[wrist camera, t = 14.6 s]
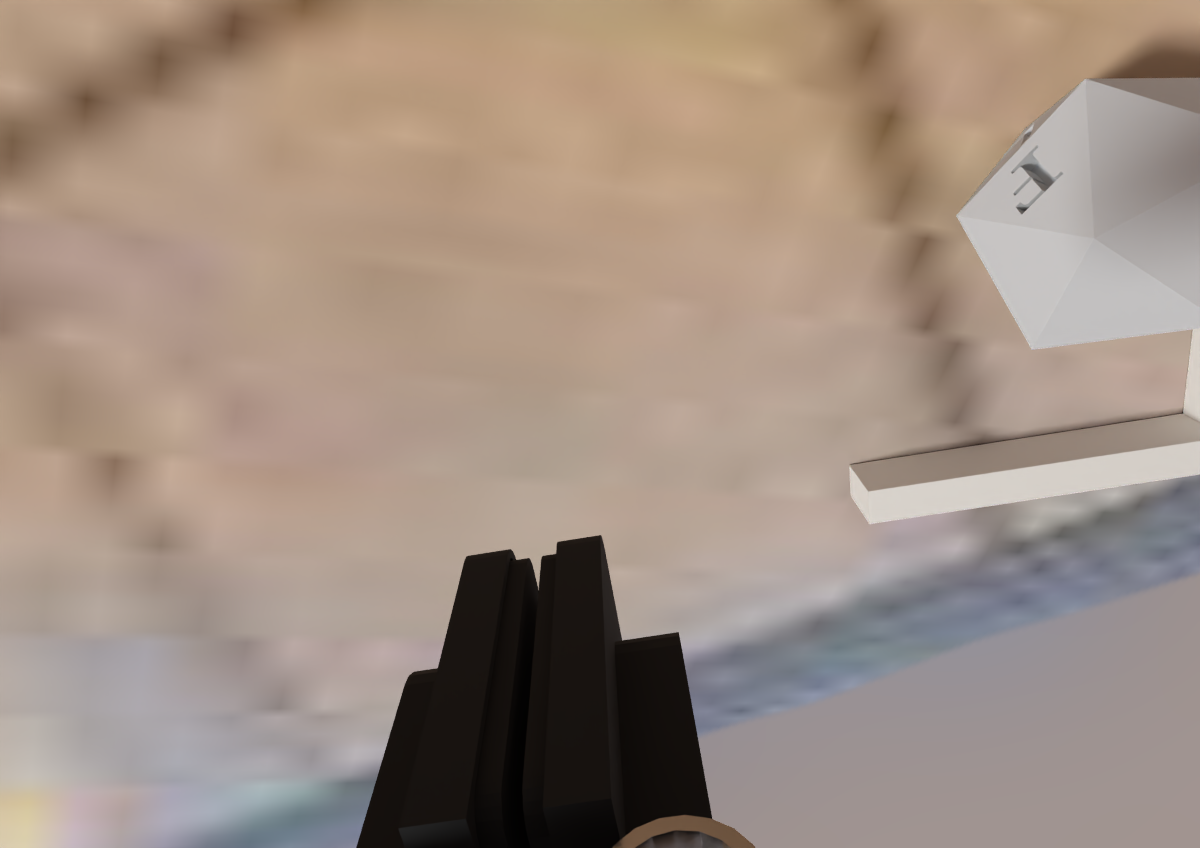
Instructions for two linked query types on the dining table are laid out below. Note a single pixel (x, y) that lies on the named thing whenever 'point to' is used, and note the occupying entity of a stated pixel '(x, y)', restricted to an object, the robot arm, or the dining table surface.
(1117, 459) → the white stand base
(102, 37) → the dining table surface
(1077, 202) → the die
